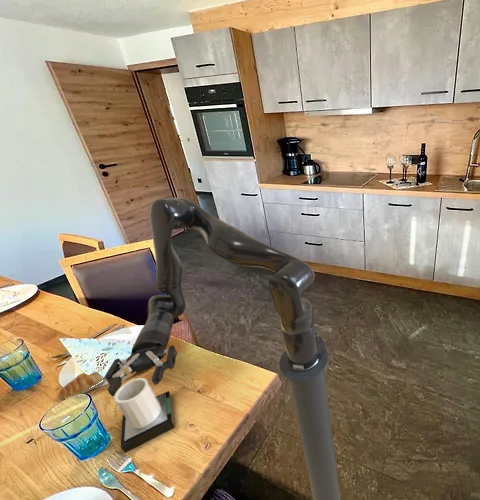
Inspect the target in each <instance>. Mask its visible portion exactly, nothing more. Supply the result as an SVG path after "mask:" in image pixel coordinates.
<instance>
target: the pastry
mask: <svg viewBox="0 0 480 500" xmlns="http://www.w3.org/2000/svg"><path fill="white" fill-rule="evenodd" d="M104 378H105V377H103V376H102V375H100V374H99V373H98V372H95V373H93V374H90V375H87V374H85V373H84V372H83V373H80V374H78V375H77V376H76V377H75V378H74V379H72V380H71V381H70V382H68V383H67V384H65V385H64V387H62V388H61V389H60V390H59V393H58V398H59V399H61V400H64V399H65V398H68V397H70V396H74V395H77V394H82V395H84V394H86V393H89V392H91V391H92V390H94V389H97V388H99V387H100V386H101V385H103V384H104V383H105V379H104ZM102 380H103V382H101V381H102ZM99 382H101V383H99ZM98 383H99V384H98ZM96 384H97V385H96ZM94 385H95V386H94ZM92 386H94V387H92ZM91 387H92V388H91ZM89 388H90V389H89Z"/></svg>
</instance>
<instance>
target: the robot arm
mask: <svg viewBox="0 0 480 500" xmlns="http://www.w3.org/2000/svg"><path fill="white" fill-rule="evenodd" d="M149 221H150V229H151V235H152V242H153V248H154V255H155V277H154V278H155V279H154V288H155V290H156V291H157V292H159V293H162V294H155V295H153V296H151V297H150V298H149V299H148V301H147V306H146V310H147V318H146V321H145V323H144V325H143V327H142V328H141V330H140V331H139V333H138V335H137V337H136V340H135V342H134V344H133V346H132V349H131V353H130V355H128V357H127V358H126V359H122V360H121V359H120V358H116V359H114V360H113V361H112V363H111V365H110V367H109V369H108V370H107V371H106V373H105V375H104V378H105V379H104V380H106V382H107V384H108V385H109V386H108V387H107V392H108V394H109V395H110V396H111V397H113V398H114V395H115V393H116V392H117V390H118V389H119V388H120V387H121V386H123V382H125V380H127V379H128V378H132V377H133V376H134V375H135V374H136V373H140V372H143V371H147V370H151V369H152V368H154V371H153V374H152V377H151V382H152V384H153V385H154V386H158V385H159V383H160V382H162V380H163V377H164V374H165V372H166V371H167V370H168V369H169V370H171V369H174V368H175V365H176V360H177V355H178V352H177V349H176V347H175V345H174V344H173V345H172V344H171V345H170V346H169V347H168V344H169V341H170V340H171V334H172V333H171V332H172V330H173V327H174V323H175V318H178V317H180V316H182V315H183V314H184V312H185V310H186V300H185V297H184V294H183V290H182V277H183V276H182V275H183V265H182V261H181V258H180V257H179V256H178V254H177V252H176V251H175V248H174V247H173V244H172V234H173V230H180V229H189V230H192V231H195V232H196V233H197V234H200V235H201V236H202V237H203V238H204V240H205V242H206V245H207V247H208V249H209V250H210V251H211V252H212V253H213V254H215V255H216V256H218V257H219V258H220V259H223V260H225V261H226V262H228V263H230V264H233V265H237V266H242V267H253V268H260V269H265V270H269V271H271V272H273V273H271V274H270V276H269V279H268V288H269V292H270V297H271V299H272V303H273V306H274V310H275V312H276V314H277V316H278V317H279V321H280V326H281V330H282V335H283V341H284V346H285V351H287V356H288V363H289V366H290V367H291V369H293V370H295V371H298V372H304V371H308V370H310V369H312V368H313V367H315V366H316V365H317V363H318V361H319V360H321V359H322V358H321V352H322V351H324V350H327V349H326V342H325V341H324V339H323V338H321V336H320V335H319V333H317V332H316V326H315V325H316V324H315V319H314V318H315V317H314V312H313V305H312V304H311V302H310V301H308V300H307V299H304V298H301V297H302V295H304V293H306V291H308V289H309V288H311V286H312V285H313V284H314V282H315V279H316V275H315V272H314V270H313V269H312V267H311V266H310V265H309V264H308V263H307V262H305V261H304V260H302V259H300V258H298V257H296V256H293V255H291V254H288V253H286V252H284V251H281V250H279V249H276V248H274V247H272V246H270V245H268V244H267V243H264V242H262V241H261V240H258V239H256V238H254V237H253V236H251V235H249V234H247V233H246V232H244V231H242V230H240V229H239V228H237V227H235V226H233V225H231V224H229V223H227V222H226V221H224V220H222V219H219V218H218V217H216V216H214V215H212V214H211V213H209V212H208V211H206V210H205V209H204V208H202V207H201V206H199V205H198V204H197V203H195V202H194V201H192V200H190V199H188V198H185V197H165V198H157V199H155V200H154V201H152V203H151V204H150V208H149ZM167 347H168V348H167ZM165 357H166V359H165V361H164V362H163V361H162V359H164V358H165ZM129 368H130V369H131V370H130V369H129ZM121 375H122V376H121Z"/></svg>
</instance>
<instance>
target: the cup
mask: <svg viewBox="0 0 480 500" xmlns="http://www.w3.org/2000/svg"><path fill="white" fill-rule="evenodd" d="M156 396H157V395H156V393H155V391H154V389H153V388H152V386H151V384H150V382H149V381H148V379H146V378H145V377H137V378H133V379H131V380H129V381H127V382H125V383H124V384H122V385H121V387H120V388H119V389H118V390H117V392H116V393H115V395H114V396H113V400H114V402H115V403H116V405H117V407H118V408H119V410H120V412H121V413H122V416H123V415H124V416H125V418H126V419H127V421H128V422H129V424H130V425H131V427H133V428H142V427H144V426H147V425H148V424H150V423H151V422H153V421H154V420H155V419H156V418H157V417H158V415H159V414H160V411H161V406H160V403H159V401H158V399H157V398H156Z"/></svg>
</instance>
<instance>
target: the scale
mask: <svg viewBox="0 0 480 500" xmlns="http://www.w3.org/2000/svg"><path fill="white" fill-rule="evenodd" d="M155 396H156V398H157V399H158V401H159V403H160V406H161V411H160V414H159V415H158V417H157V418H156V419H155V420H154V421H153V422H151V423H150V424H148V425H147V426H144V427H142V428H133V427H131V425H130V424H129V422H128V421H127V419H126V418H125V416H124V415H123V414H122V418H121V419H122V421H121V422H122V423H121V435H120V448H121V449H122V451H123V452H124V454H126V453H128V452H130V451H132V450H134V449H135V448H138V447H140V446H141V445H142V446H143V444H146V443H148V442H150V441H151V440H153V439H155V438H157V437H159V436H161V435H163V434H165V433H167V432H169V431H171V430H173V429H175V428H176V424H175V423H176V422H175V415H174V404H173V396H172V394H171V392H170V391H169V390H168V391H167V390H166V391H165V392H163V393H161V394H159V395H155Z"/></svg>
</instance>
